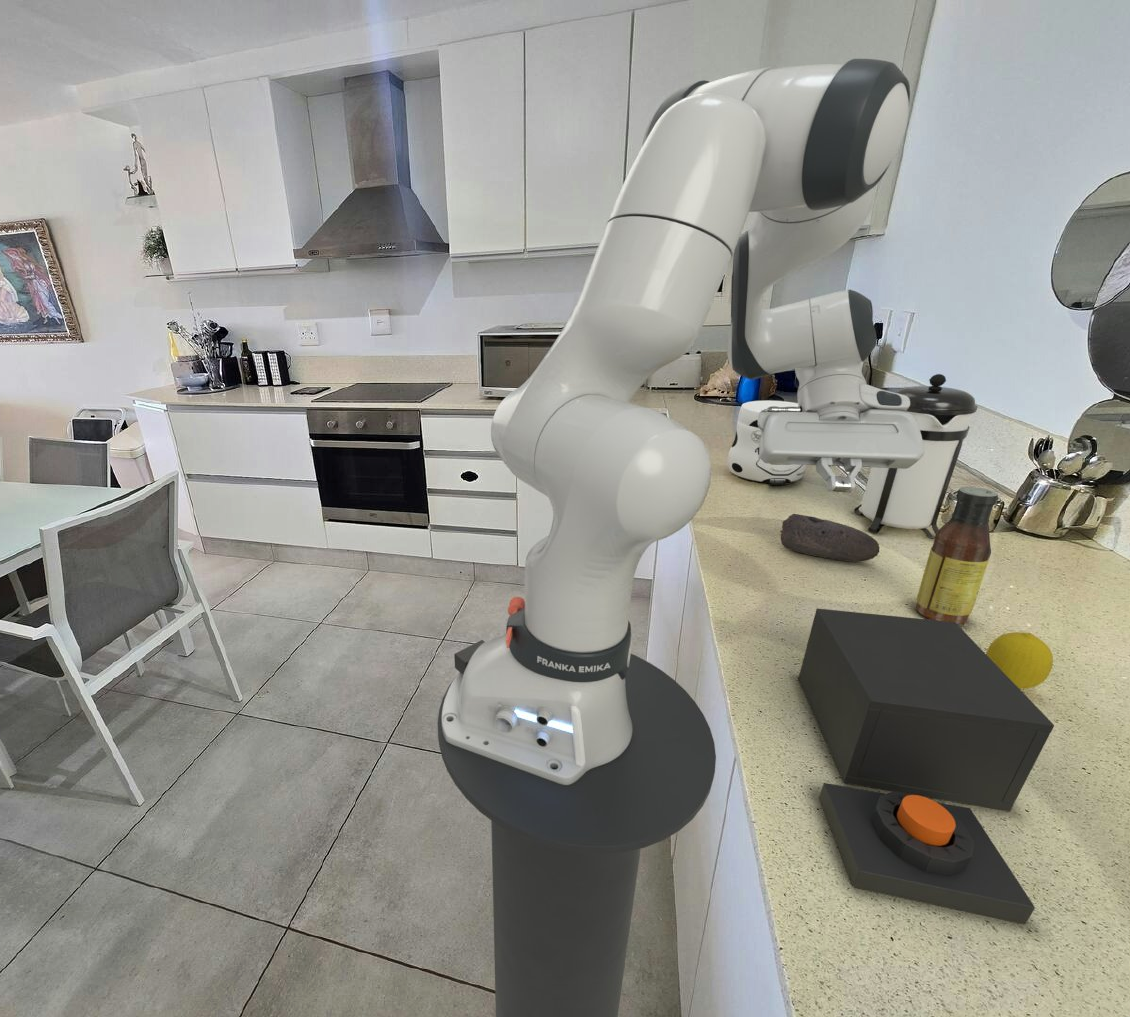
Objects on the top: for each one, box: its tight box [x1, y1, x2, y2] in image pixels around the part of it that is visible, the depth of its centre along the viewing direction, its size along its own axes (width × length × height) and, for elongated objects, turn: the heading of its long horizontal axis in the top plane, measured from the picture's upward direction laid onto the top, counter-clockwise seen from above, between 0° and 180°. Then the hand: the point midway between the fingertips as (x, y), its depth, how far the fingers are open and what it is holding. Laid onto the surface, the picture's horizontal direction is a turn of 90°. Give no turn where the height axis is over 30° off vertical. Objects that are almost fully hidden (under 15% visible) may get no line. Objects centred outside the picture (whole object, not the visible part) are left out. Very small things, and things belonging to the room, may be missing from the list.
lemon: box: [985, 631, 1054, 690], centre depth 66 cm, size 6×6×8 cm
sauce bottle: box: [915, 486, 999, 626], centre depth 78 cm, size 7×6×20 cm
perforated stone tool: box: [779, 513, 880, 563], centre depth 98 cm, size 15×5×7 cm, turn 54°
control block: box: [818, 782, 1036, 925], centre depth 48 cm, size 12×9×4 cm
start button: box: [897, 795, 956, 846], centre depth 47 cm, size 4×4×2 cm
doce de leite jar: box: [727, 400, 808, 486], centre depth 133 cm, size 17×17×18 cm
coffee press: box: [853, 373, 979, 540], centre depth 105 cm, size 17×16×30 cm
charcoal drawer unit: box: [797, 607, 1055, 812], centre depth 59 cm, size 16×14×11 cm
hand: (841, 490), depth 78 cm, fingers closed
